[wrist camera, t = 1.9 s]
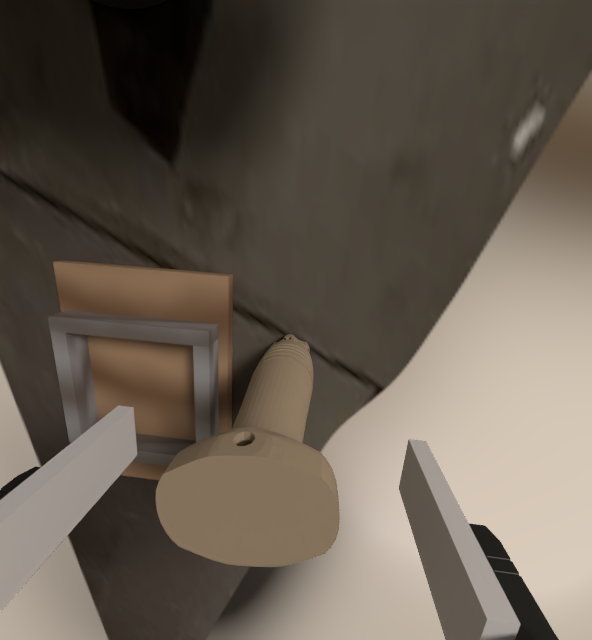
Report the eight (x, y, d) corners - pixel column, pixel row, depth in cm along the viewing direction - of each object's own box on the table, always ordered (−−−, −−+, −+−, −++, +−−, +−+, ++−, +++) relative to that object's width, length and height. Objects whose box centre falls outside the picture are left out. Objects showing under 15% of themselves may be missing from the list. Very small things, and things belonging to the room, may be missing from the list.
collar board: (66, 260, 24) (28, 263, 21) (233, 274, 23) (219, 280, 20) (95, 461, 30) (69, 487, 27) (231, 479, 29) (220, 508, 26)
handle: (250, 324, 24) (143, 454, 10) (329, 322, 24) (337, 456, 9) (256, 378, 25) (169, 561, 11) (330, 377, 25) (340, 571, 10)
